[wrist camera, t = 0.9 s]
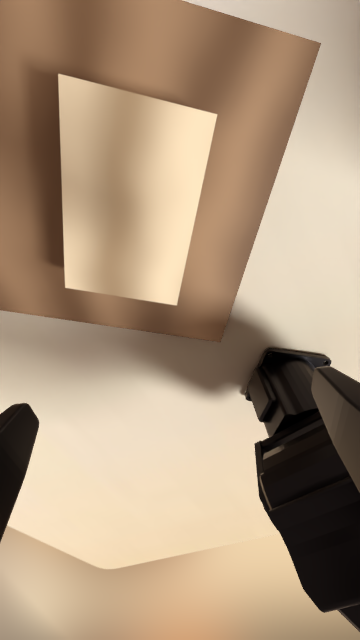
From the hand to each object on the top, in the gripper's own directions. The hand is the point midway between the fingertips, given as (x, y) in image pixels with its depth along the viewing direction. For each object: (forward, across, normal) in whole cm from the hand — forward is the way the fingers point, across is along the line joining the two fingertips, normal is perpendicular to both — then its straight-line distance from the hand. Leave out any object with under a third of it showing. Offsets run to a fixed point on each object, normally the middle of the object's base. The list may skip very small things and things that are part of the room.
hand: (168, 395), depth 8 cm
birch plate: (+12, +2, -4) cm, 12 cm away
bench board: (+13, +5, -6) cm, 15 cm away
